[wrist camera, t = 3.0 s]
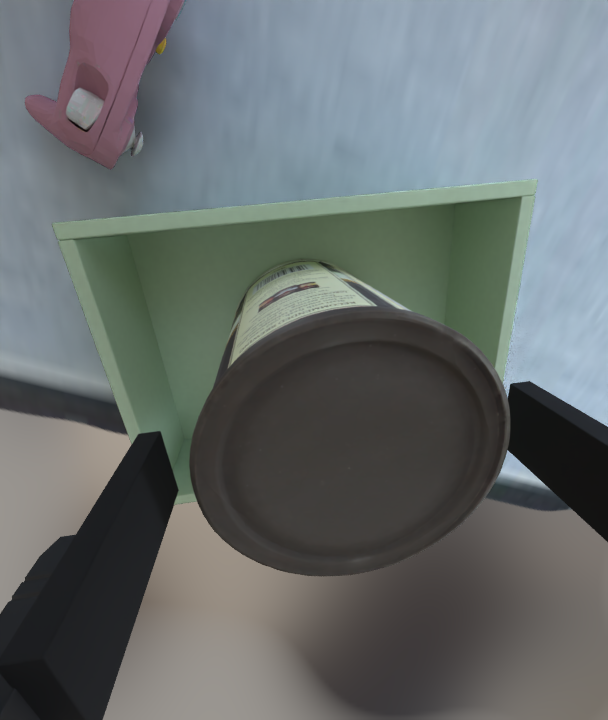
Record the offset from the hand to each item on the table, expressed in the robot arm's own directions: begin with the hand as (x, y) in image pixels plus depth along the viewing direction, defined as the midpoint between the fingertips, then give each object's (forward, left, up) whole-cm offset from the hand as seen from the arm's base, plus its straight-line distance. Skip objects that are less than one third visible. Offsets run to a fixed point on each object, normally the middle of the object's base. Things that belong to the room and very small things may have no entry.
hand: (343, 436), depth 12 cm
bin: (0, 0, -12) cm, 12 cm away
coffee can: (0, 0, -12) cm, 12 cm away
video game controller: (-16, -8, -13) cm, 22 cm away
